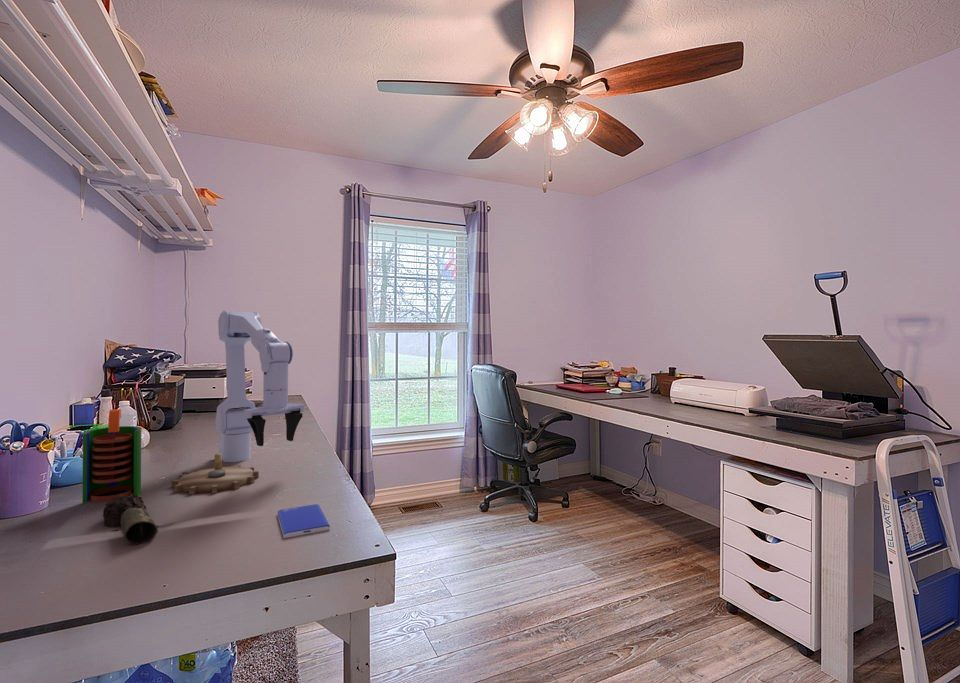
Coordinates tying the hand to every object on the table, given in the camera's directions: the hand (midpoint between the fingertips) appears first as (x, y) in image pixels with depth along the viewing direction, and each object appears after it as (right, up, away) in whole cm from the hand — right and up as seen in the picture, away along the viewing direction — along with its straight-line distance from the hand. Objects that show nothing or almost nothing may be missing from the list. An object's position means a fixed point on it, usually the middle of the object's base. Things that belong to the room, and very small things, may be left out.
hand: (275, 442), depth 116 cm
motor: (-30, -10, -14) cm, 35 cm away
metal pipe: (-15, -10, -30) cm, 35 cm away
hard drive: (+17, -11, -25) cm, 32 cm away
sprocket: (-13, -9, -4) cm, 16 cm away
